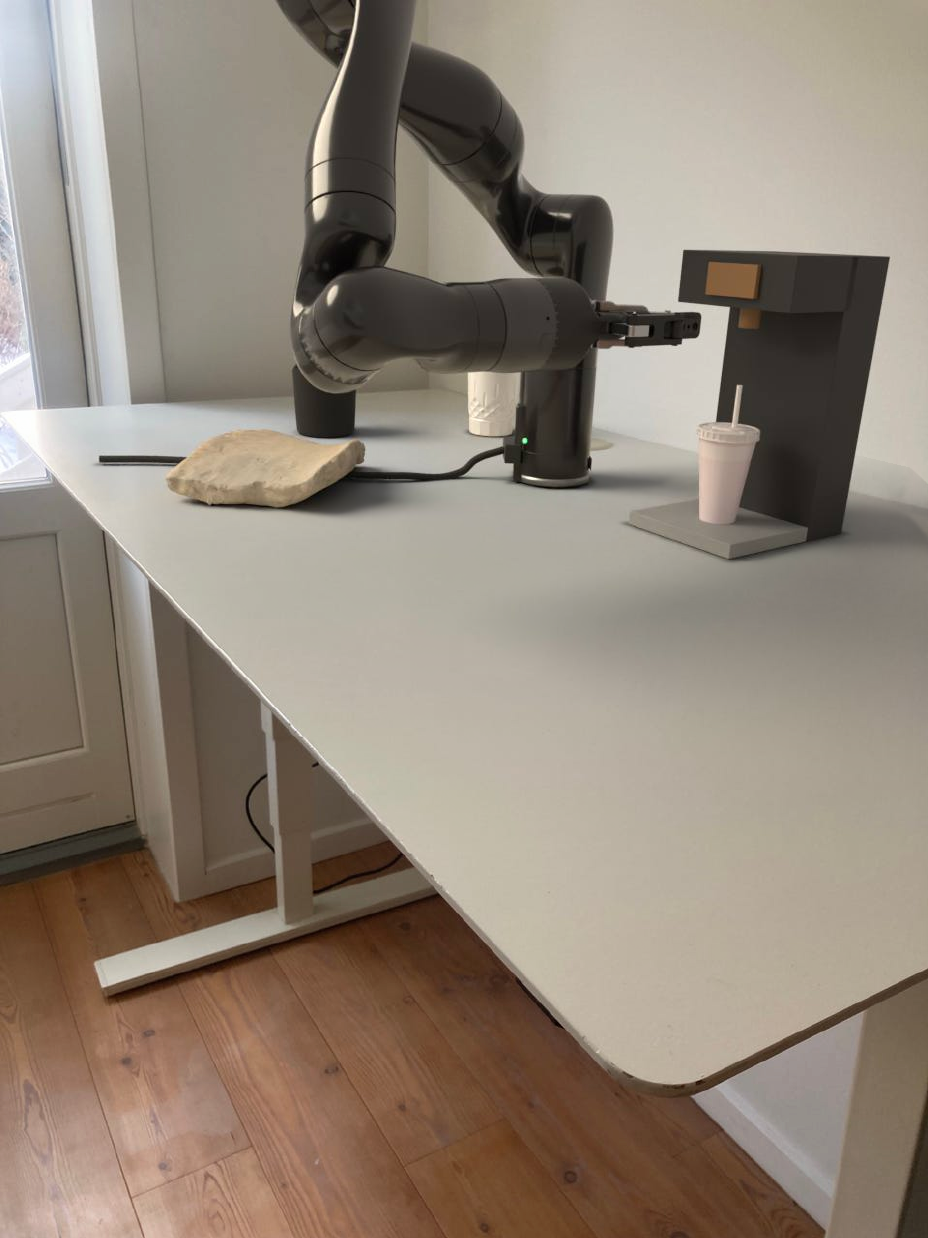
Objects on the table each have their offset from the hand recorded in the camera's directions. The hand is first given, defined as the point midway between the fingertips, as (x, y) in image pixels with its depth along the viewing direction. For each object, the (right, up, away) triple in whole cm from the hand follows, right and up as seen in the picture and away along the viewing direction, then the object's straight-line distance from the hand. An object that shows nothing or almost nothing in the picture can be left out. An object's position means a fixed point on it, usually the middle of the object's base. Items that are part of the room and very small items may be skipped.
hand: (662, 320), depth 91 cm
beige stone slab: (-40, -12, +28) cm, 50 cm away
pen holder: (-39, 0, +58) cm, 70 cm away
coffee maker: (+11, -18, +16) cm, 26 cm away
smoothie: (+8, -17, +14) cm, 23 cm away
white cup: (-14, +1, +62) cm, 63 cm away
